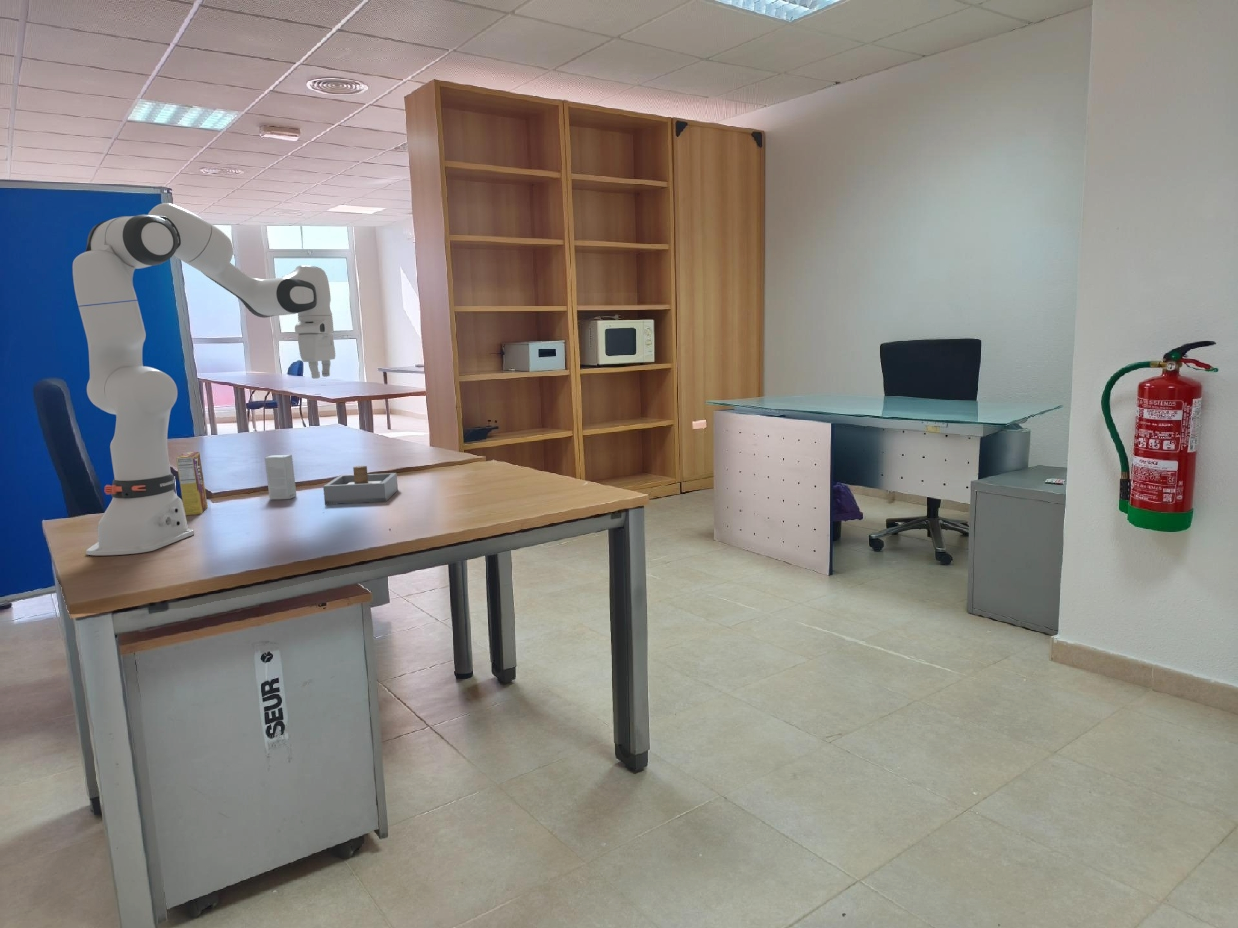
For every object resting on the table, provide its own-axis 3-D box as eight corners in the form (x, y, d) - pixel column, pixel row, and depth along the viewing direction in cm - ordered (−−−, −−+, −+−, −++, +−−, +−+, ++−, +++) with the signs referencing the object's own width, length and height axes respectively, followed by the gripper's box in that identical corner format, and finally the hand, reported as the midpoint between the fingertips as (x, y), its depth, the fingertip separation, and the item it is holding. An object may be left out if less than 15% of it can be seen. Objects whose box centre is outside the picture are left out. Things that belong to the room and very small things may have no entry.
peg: (367, 494, 218) (365, 467, 217) (354, 495, 218) (351, 468, 217) (370, 491, 222) (368, 465, 220) (357, 492, 222) (355, 466, 220)
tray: (385, 501, 213) (384, 483, 212) (324, 504, 212) (323, 486, 211) (397, 489, 228) (396, 472, 228) (341, 492, 227) (339, 475, 227)
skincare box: (297, 496, 224) (292, 454, 222) (289, 499, 220) (285, 457, 218) (276, 496, 225) (272, 454, 223) (268, 499, 221) (264, 457, 219)
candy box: (190, 508, 212) (183, 452, 210) (208, 507, 213) (201, 451, 211) (182, 515, 204) (175, 457, 201) (201, 514, 205) (194, 456, 202)
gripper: (316, 327, 227) (320, 375, 230) (292, 327, 207) (297, 380, 210) (338, 326, 228) (342, 375, 230) (316, 326, 208) (322, 379, 210)
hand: (321, 377), depth 220 cm, fingers open, 8 cm apart
